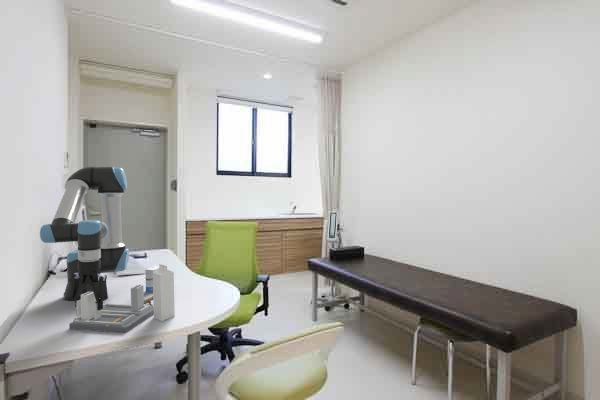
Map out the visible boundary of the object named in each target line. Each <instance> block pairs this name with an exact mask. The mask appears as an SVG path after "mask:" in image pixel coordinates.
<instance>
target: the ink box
mask: <svg viewBox="0 0 600 400" xmlns="http://www.w3.org/2000/svg"><path fill="white" fill-rule="evenodd" d="M158 268H159V265H154V266H151V267H148V268H146V269H144V270H145V271H144V273H145V292H147V293H153V272H154V271H156V270H157V269H158Z"/></svg>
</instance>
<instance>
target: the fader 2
mask: <svg viewBox="0 0 600 400" xmlns="http://www.w3.org/2000/svg"><path fill="white" fill-rule="evenodd" d="M144 289H145V288H144V285H142V284H137V285H134V286H132V287H130V300H131V301H130V305H131V312H138V311H139V310H140V309H142V308H144V305H145V304H144V300H145V299H144V298H145V295H144V294H145V293H144V292H145V290H144Z"/></svg>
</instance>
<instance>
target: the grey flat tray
mask: <svg viewBox="0 0 600 400" xmlns="http://www.w3.org/2000/svg"><path fill="white" fill-rule="evenodd" d="M152 316H154V306H152V305H151V306H150V305H149V304H144V308H142V309H140V310H139V311H138V312H131V304H125V303H123V304H121V303H120V304H119V303H108V302H105V303H103V309H101V317H99V318H97V319H94V318H92V319H90V320H81V315H80V316H78V317H76V316H75V317H74V318H73V320H72V321H71V322H70V323H69V325H68V326H69V328H68V329H70V330H80V331H96V332H109V333H110V332H111V333H128V332H130V331H131V330H133V329H134V328H136V327H137V326H139V325H141V324H142V323H144V321H146V320H147V319H149V318H150V317H152Z"/></svg>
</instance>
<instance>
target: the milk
mask: <svg viewBox="0 0 600 400" xmlns="http://www.w3.org/2000/svg"><path fill="white" fill-rule="evenodd" d="M158 266H159V268H158V269H157V270H156V271H154V272H153V292H152V296H153V300H152V301H153V302H152V303H153V304H152V307H154V314H153V318H155V319H156V320H158V321H161V322H163V321H166V320H168V319H171V318H174V317H175V311H176V310H175V273H174V271H172V270H169V269H168V266H167V265H165V264H161V263H159V265H158Z"/></svg>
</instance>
